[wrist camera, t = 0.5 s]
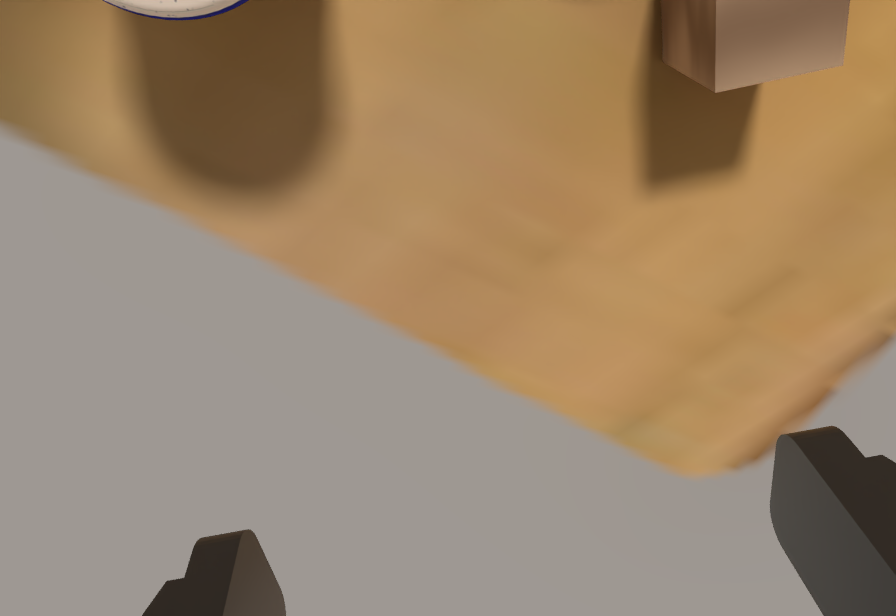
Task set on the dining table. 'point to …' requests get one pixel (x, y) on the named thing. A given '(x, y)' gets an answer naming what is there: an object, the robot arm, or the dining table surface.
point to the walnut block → (752, 39)
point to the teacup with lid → (177, 8)
